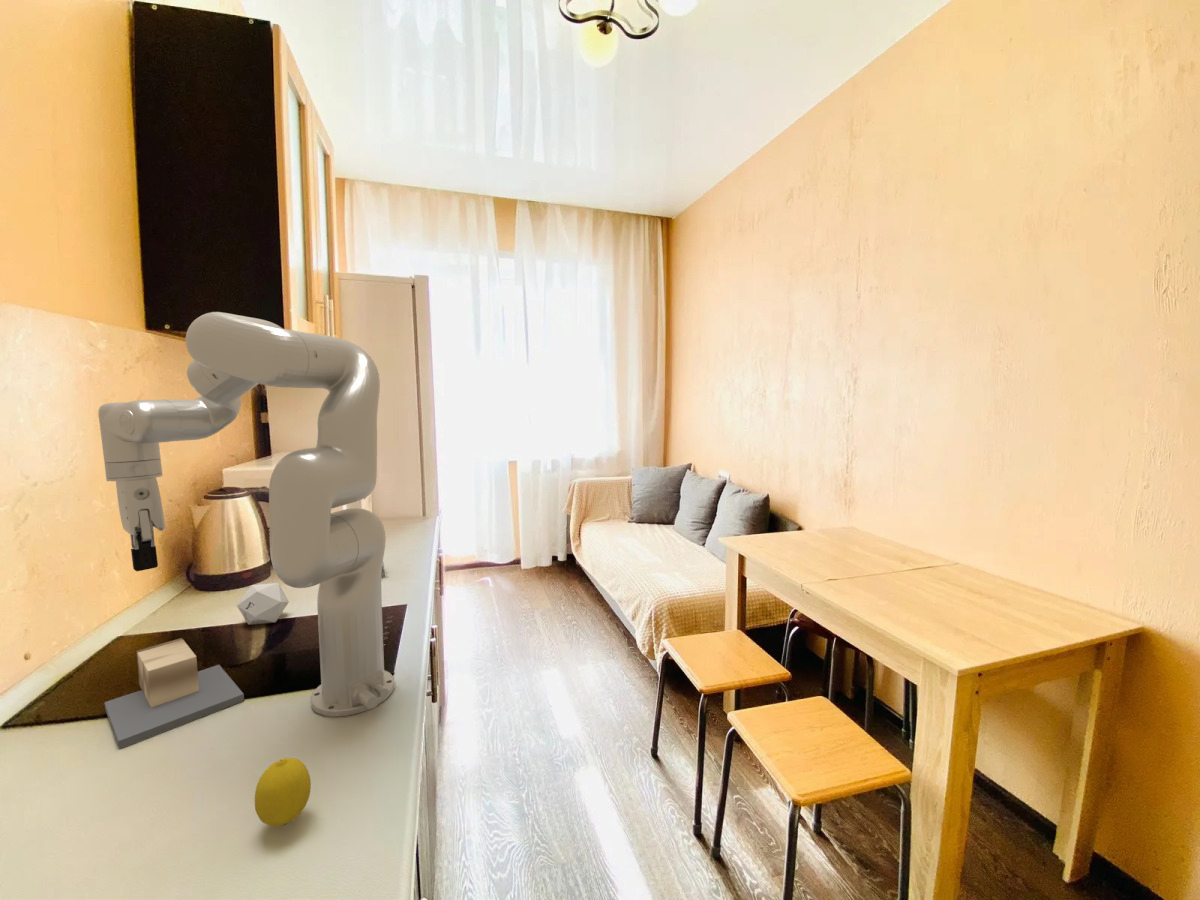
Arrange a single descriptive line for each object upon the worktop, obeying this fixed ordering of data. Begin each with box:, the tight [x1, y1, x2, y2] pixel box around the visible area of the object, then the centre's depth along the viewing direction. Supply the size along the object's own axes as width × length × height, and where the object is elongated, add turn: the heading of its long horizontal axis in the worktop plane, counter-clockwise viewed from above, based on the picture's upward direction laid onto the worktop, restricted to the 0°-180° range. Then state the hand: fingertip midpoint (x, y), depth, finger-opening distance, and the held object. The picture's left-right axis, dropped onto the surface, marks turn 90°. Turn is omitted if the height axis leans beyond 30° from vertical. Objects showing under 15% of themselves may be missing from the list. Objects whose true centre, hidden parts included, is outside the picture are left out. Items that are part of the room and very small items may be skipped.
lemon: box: [254, 757, 311, 827], centre depth 58 cm, size 6×6×8 cm
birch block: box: [135, 637, 199, 708], centre depth 84 cm, size 6×6×10 cm
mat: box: [104, 664, 245, 750], centre depth 81 cm, size 14×15×1 cm
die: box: [236, 582, 290, 626], centre depth 112 cm, size 8×9×10 cm
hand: (145, 568), depth 92 cm, fingers closed
